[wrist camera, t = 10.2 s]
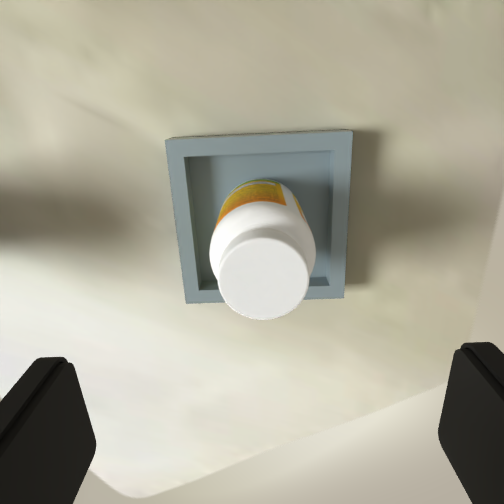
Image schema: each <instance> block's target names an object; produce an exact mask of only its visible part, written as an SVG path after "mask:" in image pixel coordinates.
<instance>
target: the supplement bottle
mask: <svg viewBox="0 0 504 504" xmlns="http://www.w3.org/2000/svg"><path fill="white" fill-rule="evenodd" d="M209 254H210V263H211V267H212V270H213V273H214V275H215V277H216V279H217V280H218V287H219V290H220V293H221V295H222V297H223V299H224V300H225V302H226V303H227V304H228V305H229V306H230V307H231V308H232V309H233V310H234V311H236V312H237V313H239V314H241V315H243V316H245V317H248V318H252V319H257V320H270V319H275V318H279V317H281V316H284V315H286V314H288V313H290V312H291V311H293V310H294V309H295V308H296V307H297V306H298V305H299V304H300V303H301V302H302V300H303V299H304V297H305V295H306V293H307V290H308V287H309V280H310V275H311V273H312V270H313V267H314V264H315V258H316V248H315V242H314V238H313V235H312V232H311V229H310V227H309V225H308V223H307V221H306V218H305V216H304V214H303V211H302V209H301V206H300V204H299V202H298V200H297V199H296V197H295V196H294V194H293V193H292V192H291V191H290V190H289V189H288V188H287V187H286V186H284V185H283V184H281V183H279V182H277V181H274V180H270V179H262V178H261V179H252V180H248V181H245V182H243V183H241V184H240V185H238V186H237V187H235V188H234V189H233V190H232V191H231V192H230V193H229V195H228V196H227V197H226V199H225V201H224V203H223V205H222V208H221V211H220V214H219V217H218V220H217V223H216V227H215V229H214V232H213V235H212V239H211V244H210V253H209Z"/></svg>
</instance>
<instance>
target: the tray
mask: <svg viewBox="0 0 504 504" xmlns="http://www.w3.org/2000/svg"><path fill="white" fill-rule="evenodd" d="M352 139H353V131H350V130H346V129H340V130H319V131H298V132H277V133H256V134H235V135H214V136H193V137H172V138H169V139H167V140H165V145H166V153H167V161H168V169H169V176H170V184H171V192H172V200H173V207H174V215H175V223H176V230H177V238H178V246H179V254H180V261H181V269H182V277H183V285H184V292H185V300H186V304H191V303H220V302H225V300H224V299H223V297H222V295H221V293H220V290H219V287H218V280H217V279H216V277H215V275H214V273H213V270H212V267H211V263H210V254H209V253H210V244H211V239H212V235H213V232H214V229H215V227H216V223H217V220H218V217H219V214H220V211H221V208H222V205H223V203H224V201H225V199H226V197H227V196H228V195H229V193H230V192H231V191H232V190H233V189H234V188H235V187H237V186H238V185H240V184H241V183H243V182H245V181H248V180H252V179H261V178H262V179H270V180H274V181H277V182H279V183H281V184H283V185H284V186H286V187H287V188H288V189H289V190H290V191H291V192H292V193H293V194H294V196H295V197H296V199H297V200H298V202H299V204H300V206H301V209H302V211H303V214H304V216H305V218H306V221H307V223H308V225H309V227H310V229H311V232H312V235H313V238H314V242H315V248H316V258H315V264H314V267H313V270H312V273H311V275H310V280H309V287H308V290H307V293H306V295H305V297H304V299H303V300H307V299H335V298H344V287H345V268H346V250H347V231H348V213H349V194H350V176H351V157H352Z"/></svg>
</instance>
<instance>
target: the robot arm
mask: <svg viewBox="0 0 504 504" xmlns="http://www.w3.org/2000/svg"><path fill="white" fill-rule="evenodd" d="M438 436H439V441H440V444H441V446H442V448H443V450H444V452H445V454H446V456H447V457H448V459H449V461H450V463H451V465H452V467H453V469H454V470H455V472H456V474H457V476H458V478H459V480H460V481H461V483H462V485H463V487H464V489H465V491H466V493H467V494H468V496H469V498H470V500H471V502H472V504H504V354H503V353H502V352H501V351H500V350H499V349H498V348H497V347H496V346H495V345H494V344H492V343H490V342H475V343H464V344H463V345H462V346H461V348H460V349H458V350H456V351H455V353H454V356H453V361H452V366H451V370H450V375H449V380H448V386H447V390H446V394H445V400H444V404H443V409H442V414H441V418H440V423H439V428H438ZM95 450H96V439H95V435H94V432H93V429H92V425H91V422H90V418H89V415H88V412H87V408H86V405H85V402H84V398H83V395H82V391H81V388H80V385H79V381H78V378H77V374H76V371H75V368H74V365H73V364H72V363H68V362H67V360H66V359H65V358H64V357H44V358H38V359H36V360H35V361H34V362H33V363H32V365H31V366H30V367H29V368H28V369H27V371H26V372H25V373H24V374H23V375H22V377H21V378H20V379H19V380H18V381H17V383H16V384H15V385H14V386H13V387H12V389H11V390H10V391H9V392H8V393H7V395H6V396H5V397H4V398H3V399H2V401H1V402H0V504H73V502H74V500H75V497H76V495H77V493H78V491H79V488H80V486H81V484H82V482H83V479H84V477H85V475H86V473H87V470H88V468H89V466H90V464H91V461H92V459H93V457H94V454H95Z"/></svg>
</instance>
